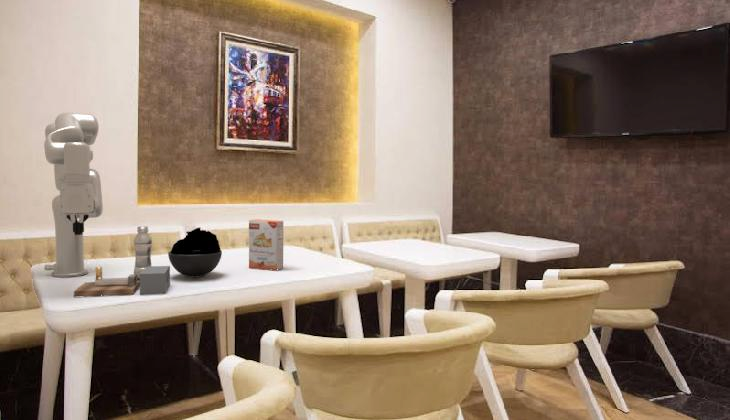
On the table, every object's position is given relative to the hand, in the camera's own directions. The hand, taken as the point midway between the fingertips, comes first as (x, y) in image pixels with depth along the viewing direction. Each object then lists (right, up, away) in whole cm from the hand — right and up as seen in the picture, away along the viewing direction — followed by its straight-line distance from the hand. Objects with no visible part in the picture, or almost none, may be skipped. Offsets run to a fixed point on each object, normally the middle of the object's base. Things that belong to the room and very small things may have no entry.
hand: (78, 234), depth 178 cm
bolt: (+10, -17, +4) cm, 20 cm away
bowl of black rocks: (+29, -18, +31) cm, 46 cm away
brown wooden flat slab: (+8, -20, +4) cm, 22 cm away
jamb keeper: (+23, -20, +7) cm, 31 cm away
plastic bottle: (+11, -18, +25) cm, 33 cm away
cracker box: (+53, -17, +50) cm, 75 cm away
